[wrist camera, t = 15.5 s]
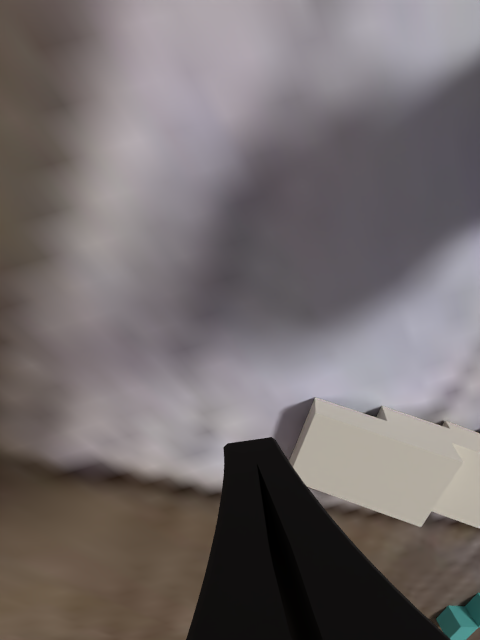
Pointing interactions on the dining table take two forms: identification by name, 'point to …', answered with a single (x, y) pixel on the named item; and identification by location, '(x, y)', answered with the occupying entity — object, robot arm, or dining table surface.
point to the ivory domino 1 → (373, 462)
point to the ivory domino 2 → (470, 480)
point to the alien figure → (460, 619)
